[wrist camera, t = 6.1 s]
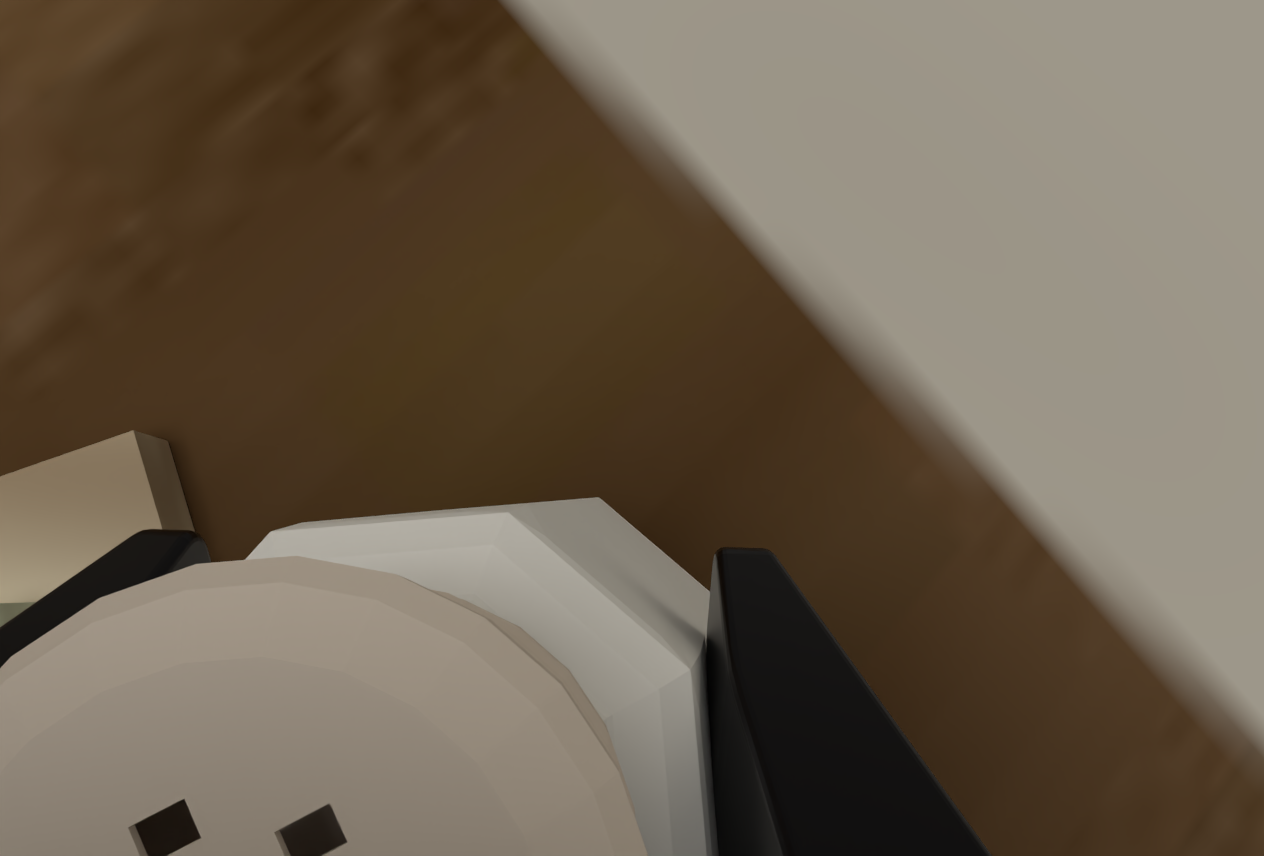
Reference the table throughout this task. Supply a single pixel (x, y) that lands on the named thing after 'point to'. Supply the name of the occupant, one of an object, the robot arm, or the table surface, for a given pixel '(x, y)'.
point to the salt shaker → (376, 698)
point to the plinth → (82, 512)
